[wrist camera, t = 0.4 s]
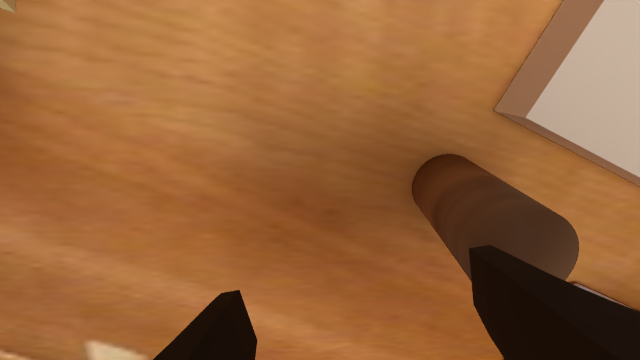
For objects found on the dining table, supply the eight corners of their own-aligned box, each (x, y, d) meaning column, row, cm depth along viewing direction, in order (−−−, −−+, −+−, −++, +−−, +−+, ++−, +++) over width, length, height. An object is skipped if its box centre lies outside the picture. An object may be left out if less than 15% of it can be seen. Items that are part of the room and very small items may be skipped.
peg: (492, 171, 19) (602, 235, 12) (455, 226, 20) (533, 317, 13) (434, 142, 19) (510, 191, 11) (400, 200, 20) (447, 280, 12)
